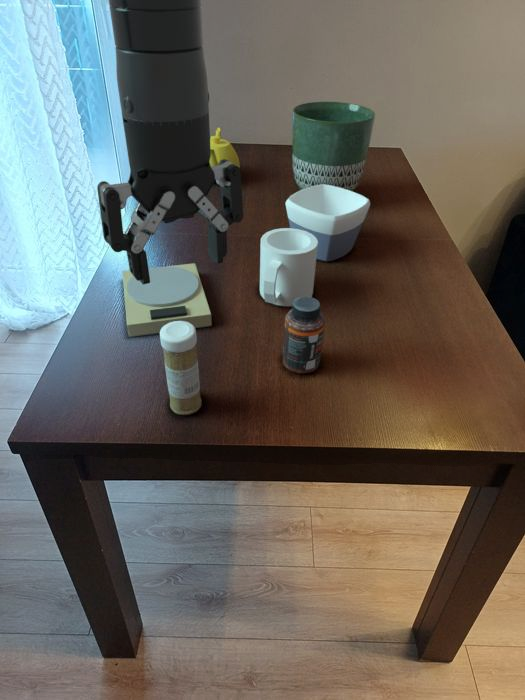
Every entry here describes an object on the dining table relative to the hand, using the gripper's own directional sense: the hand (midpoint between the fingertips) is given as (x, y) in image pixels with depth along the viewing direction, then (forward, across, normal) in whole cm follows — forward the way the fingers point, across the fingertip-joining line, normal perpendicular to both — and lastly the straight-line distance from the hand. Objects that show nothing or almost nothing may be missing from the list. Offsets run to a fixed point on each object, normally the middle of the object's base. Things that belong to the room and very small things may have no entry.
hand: (180, 270), depth 53 cm
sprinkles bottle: (+24, 0, -4) cm, 24 cm away
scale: (+24, -8, -29) cm, 39 cm away
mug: (+24, -29, -21) cm, 43 cm away
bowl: (+24, -47, -32) cm, 62 cm away
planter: (+24, -64, -54) cm, 87 cm away
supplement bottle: (+24, -20, -3) cm, 31 cm away
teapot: (+24, -46, -81) cm, 96 cm away
